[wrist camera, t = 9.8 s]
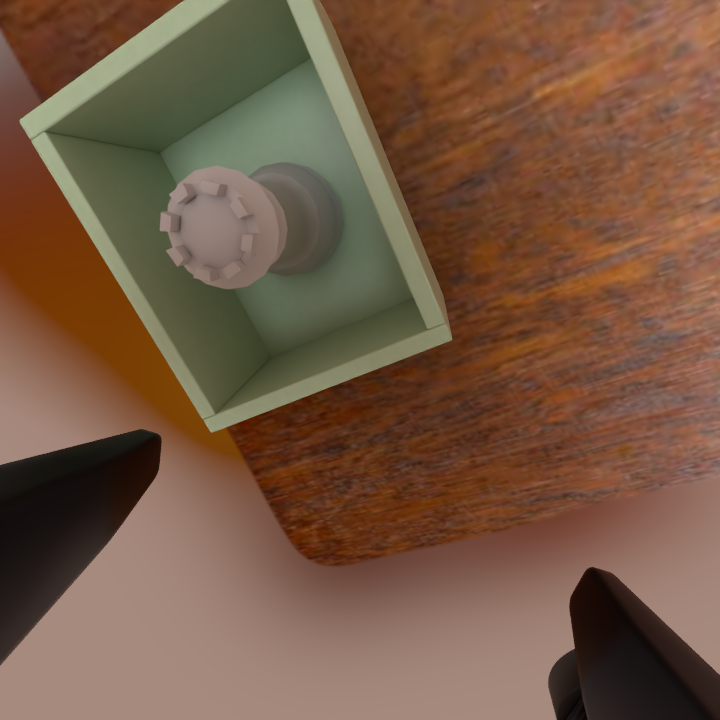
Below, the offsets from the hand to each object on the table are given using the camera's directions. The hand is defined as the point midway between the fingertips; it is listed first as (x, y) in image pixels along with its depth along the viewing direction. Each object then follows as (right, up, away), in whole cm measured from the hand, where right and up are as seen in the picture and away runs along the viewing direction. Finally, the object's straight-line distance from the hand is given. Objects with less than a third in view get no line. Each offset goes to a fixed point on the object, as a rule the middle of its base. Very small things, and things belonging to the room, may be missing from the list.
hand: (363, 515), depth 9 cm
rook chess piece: (-3, +9, +10) cm, 14 cm away
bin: (-3, +9, +10) cm, 14 cm away
